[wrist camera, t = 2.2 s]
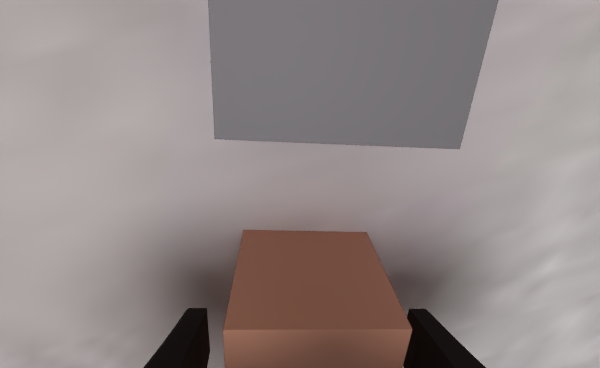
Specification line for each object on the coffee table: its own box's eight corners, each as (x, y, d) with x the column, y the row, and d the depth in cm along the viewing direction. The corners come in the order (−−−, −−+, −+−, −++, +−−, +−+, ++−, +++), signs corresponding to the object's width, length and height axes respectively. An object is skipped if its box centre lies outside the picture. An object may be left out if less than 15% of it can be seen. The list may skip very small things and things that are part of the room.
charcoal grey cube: (385, 108, 11) (459, 149, 7) (242, 101, 11) (214, 139, 6) (413, -65, 9) (545, -178, 5) (240, -81, 9) (198, -222, 4)
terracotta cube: (351, 322, 15) (382, 442, 10) (244, 322, 15) (228, 447, 10) (366, 231, 13) (412, 329, 8) (243, 228, 13) (223, 330, 8)
